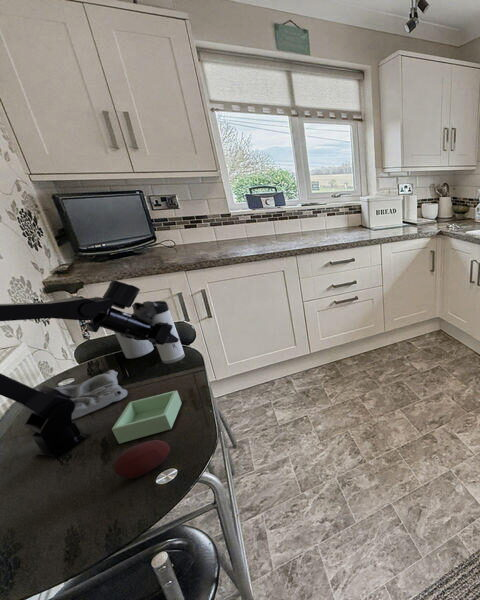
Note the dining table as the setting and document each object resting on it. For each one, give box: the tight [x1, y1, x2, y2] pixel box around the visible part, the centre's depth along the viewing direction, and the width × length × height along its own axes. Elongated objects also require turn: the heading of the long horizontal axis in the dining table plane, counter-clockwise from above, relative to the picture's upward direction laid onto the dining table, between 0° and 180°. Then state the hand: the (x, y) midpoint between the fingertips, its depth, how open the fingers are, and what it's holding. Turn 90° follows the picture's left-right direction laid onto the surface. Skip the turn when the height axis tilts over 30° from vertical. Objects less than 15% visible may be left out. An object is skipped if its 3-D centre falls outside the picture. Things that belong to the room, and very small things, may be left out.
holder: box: [111, 390, 183, 444], centre depth 88 cm, size 12×12×5 cm
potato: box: [113, 439, 171, 480], centre depth 73 cm, size 7×10×6 cm
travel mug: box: [140, 300, 186, 365], centre depth 104 cm, size 6×7×20 cm
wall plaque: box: [54, 369, 128, 420], centre depth 103 cm, size 24×19×4 cm
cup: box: [114, 332, 155, 359], centre depth 128 cm, size 9×9×12 cm
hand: (171, 339), depth 106 cm, fingers closed on travel mug, 6 cm apart
